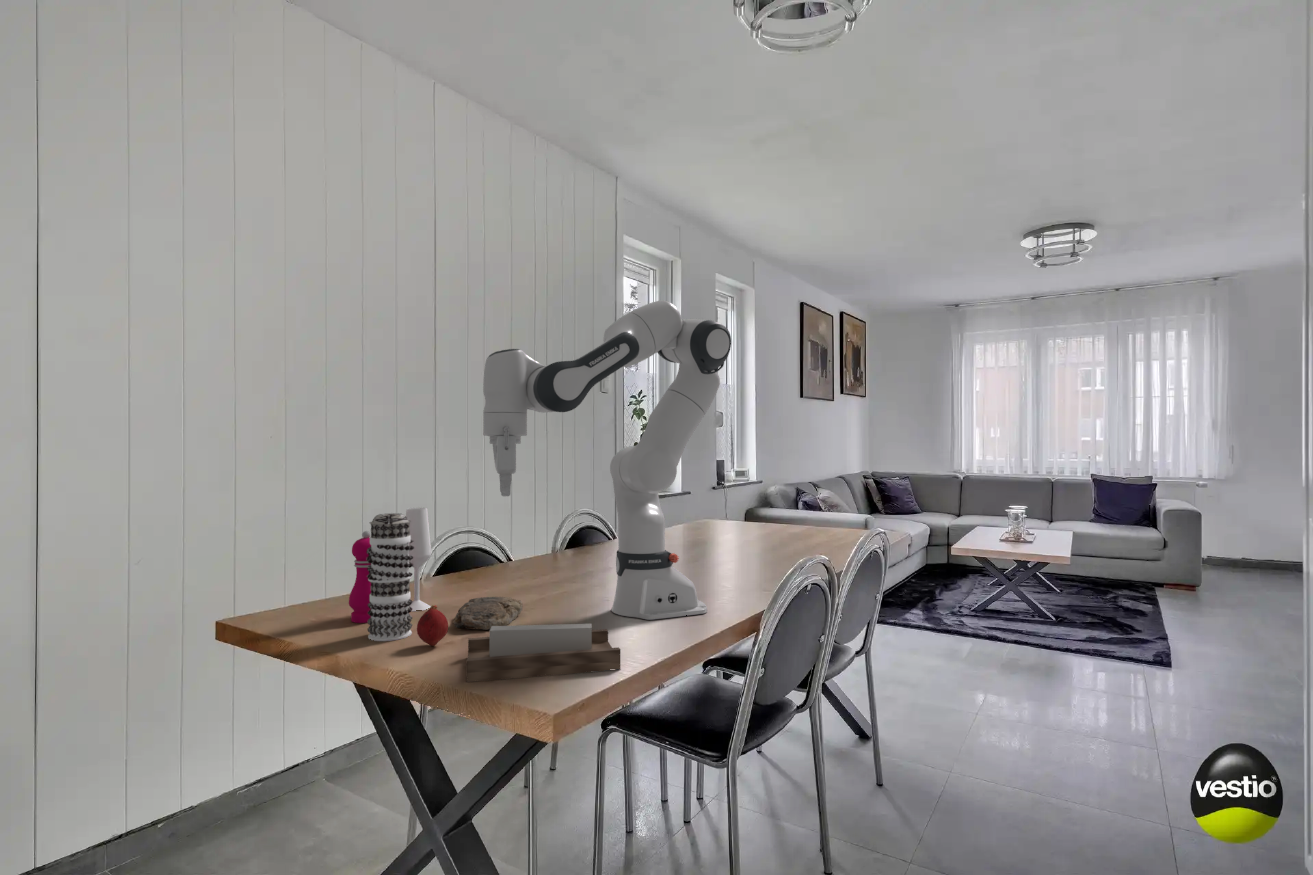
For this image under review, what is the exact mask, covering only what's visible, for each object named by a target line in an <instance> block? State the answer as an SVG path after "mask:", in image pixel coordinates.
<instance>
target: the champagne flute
mask: <svg viewBox="0 0 1313 875" xmlns="http://www.w3.org/2000/svg"><path fill="white" fill-rule="evenodd" d="M405 512H406V513H405V516H406V517H407V519H408V520H410V521H411V522H410V535H411V540H413V541H414V542H412V543H409V545H412V546H413V547H414V549H413V550H410V551H409V555H411V556H413V559H411V560H410V561H409V562H411V563H412V564H413V566H412V567H411V568H413V570H414V572H413V574H414V575H413V577H414V578H413V581H414V582H413V584H414V585H413V586H414V587H413V589H414V590H413V593H414V594H413V595H414V597H413V598H414V599H413V600H412V603H411V605H409V606H410V607H411V608H412V611H411V612H417V611H416V610H422V611H427V610H429V609H428V608H430V607H431V606H432V605H429V604H427V603H426V602H424V601H422V600H421V599H420V568H421V567H423V566H424V565H425V564H426V563H427V562H428V561H429V559H430V558H431V556H432V545H431V544H432V543H431V534H430V533H431V532H430V524H429V512H428V507H422V506H421V507H407V508H406V511H405ZM426 609H427V610H426Z"/></svg>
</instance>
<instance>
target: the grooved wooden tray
mask: <svg viewBox="0 0 1313 875" xmlns="http://www.w3.org/2000/svg"><path fill="white" fill-rule="evenodd" d="M467 641H468V642H467V644H468V651H467V652H468V653H467V658H466V683H472V682H473V683H474V682H484V681H495V680H496V681H497V680H511V679H520V678H521V679H522V678H523V679H524V678H534V677H547V676H560V675H573V674H584V673H585V672H586V673H592V672H591V671H598V672H605V671H604V670H610V669H620V670H621V648H620V647H619V646H618V647H612V645H611V644H610V642H609V630H608V628H603V629H602V628H601V629H600V628H599V629H592V649H590V650H576V651H563V652H549V653H535V654H521V655H507V656H494V657H490V636H482V637H469V638H468V640H467ZM586 673H585V674H586Z"/></svg>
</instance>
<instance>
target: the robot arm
mask: <svg viewBox="0 0 1313 875" xmlns="http://www.w3.org/2000/svg"><path fill="white" fill-rule="evenodd" d="M731 348H732V336H731V333H730V331H729V329H728V327H726V326H725V325H724V324H722V323H720V322H717V321H715V320H711V319H701V318H700V319H699V318H689V319H687V318H682V315H681V312H680V311H679V309H678V308H677V306H675V305H674V304H673V303H672V302H671V301H667V300H663V299H662V300H661V299H660V300H656V301H653V302H650V303H646V304H645V305H642V306H640V307H637V308H635V309H633V310H632V311H629V312H628V313H626V314H624V315H623V316H621V317H619V318H618V319H616V320H615V321H614V322H613V323H612V324H610V325H609V326H608V327H607V328H606V329H605V331H604V333H603V342H602V343H601V344H600V345H599V346H597V347H594V348H593V349H592V350H590V351H589V352H587V353H585V354H584V355H581V356H580V357H578V358H576V359H574V360H563V361H561V360H560V361H556V362H552V363H550V364H547V365H545V364H543V363H540V362H538V361H537V360H535V359H534V358H533V357H530V356H529V355H527V353H525V351H524V350H523V349H521V348H520V349H519V348H509V349H501V350H498V351H494V352H493V353H491V354H489V355H488V356H487V357H486V360H485V363H484V370H483V382H482V383H483V387H482V388H483V389H482V390H483V396H484V401H485V402H484V403H485V404H484V408H483V411H482V412H483V414H482V416H483V418H482V421H483V422H482V423H483V424H482V426H483V427H482V428H483V429H482V432H483V433H482V434H483V436H487V437H489V445H491V444H492V450H493V451H492V452H493V460H494V467H495V470H496V473H497V474H498V476H499V477H498V478H499V483H500V484H499V490H500V495H501V496H502V497H510V496H511V487H512V474H513V475H514V474H516V473H517V472H516V471H517V445H519V444H521V443H522V442H521V440H522V437H527V435H528V423H527V422H528V415H527V414H528V410H529V411H534V412H538V413H541V414H543V413H554V412H555V413H556V412H557V413H566V412H567V413H568V412H571V411H573V410H575V409H576V408H578V407H579V406H580V404H582V402H583V401H584V400H585V398H586V397H587V395H588V394H589V392H590V391H591V390H592V388H593V387H594V386H595V385H597V384H598V383H600V382H601V381H603V380H604V379H606V378H607V377H609V376H610V375H612V374H613V373H615V372H616V371H618V370H620V369H622V368H627V367H631V366H634V365H636V364H639V363H641V362H643V361H646V360H647V359H649V358H650V357H652V356H654V355H655V354H658V355H659V356H660V357H661V358H662V359H663V360H665V361H667V362H669V363H673V364H675V363H676V364H678V370H677V374H676V375H675V379H674V380H673V381H672V383H671V384H670V385H669V387H668V388H667V390H666V391H665V392H664V394H663V395H662V397H661V398H660V399H659V401H658V403H657V404H656V405H655V407H654V409H653V410H652V412H651V413H650V414H649V416H648V420H647V425H646V427H645V429H644V432H643V433H642V435H641V438H640V440H639V441H638V442H637V444H636V445H629V446H626V447H623V448H622V449H621V450H619V451H617V452H616V453H615V454H614V456H613V457H612V459H611V460H610V464H609V471H610V475H611V477H612V483H613V484H612V485H613V492H614V499H615V505H616V511H617V512H616V513H617V523H618V527H617V529H618V530H617V533H618V534H617V536H618V537H617V539H618V548H617V549H618V550H617V551H616V556H615V572H616V575H617V579H616V587H615V595H614V600H613V603H612V607H611V612H612V613H614V614H615V615H619V616H622V617H628V618H629V617H630V618H637V619H641V620H642V619H643V620H646V621H647V620H648V621H649V620H650V621H653V620H660V619H669V618H677V617H685V616H686V615H687V616H693V615H702V614H706V613H707V612H708V606H707V605H706V603H705V602H703V601H702V600H699V599H698V593H697V589H696V586H695V584H694V582H693V581H692V580H691V579H689V578H688V577H687V576H686V575H685V574H684V573H682V572H681V571H680V570H678V569H677V568H676V567H674V566H673V564H676V563H678V562H679V559H680V556H678V554H677V553H675V552H674V553H672V552H670V551H668V550H666V548H665V547H666V536H665V535H666V519H665V514H664V512H663V510H662V506H661V501H660V496H659V493H660V492H662V491H665V490H667V489H668V488H670V487H671V486H672V485H673V484H674V482H675V479H677V478H676V477H677V473H678V471H677V470H678V469H677V468H678V465H679V463H680V460H681V459H682V455H683V453H684V451H685V448H686V446H687V444H688V442H689V440H690V438H692V436H693V434H694V433H695V431H696V430H697V428H698V426H699V425H700V423H701V422H702V420H703V418H704V417H705V416H706V414H707V412H708V410H709V409H710V407H711V406H712V403H713V402H714V400H715V397H716V395H717V393H718V389H719V388H720V384H721V379H720V375H719V374H718V372H719V371H720V370H721V369H722V368H723V367H724V365H725V362H726V360H727V359H728V357H729V354H730V351H731ZM687 616H686V617H687Z"/></svg>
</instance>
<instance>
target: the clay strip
mask: <svg viewBox="0 0 1313 875" xmlns="http://www.w3.org/2000/svg"><path fill="white" fill-rule="evenodd" d="M592 628H593V626H592V623H564V624H563V623H562V624H558V623H556V624H529V625H528V624H523V625H506V626H492V627H491V628H490V629H489V637H490V657H494V656H507V655H521V654H535V653H549V652H563V651H576V650H590V649H592V630H593V629H592Z"/></svg>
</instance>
